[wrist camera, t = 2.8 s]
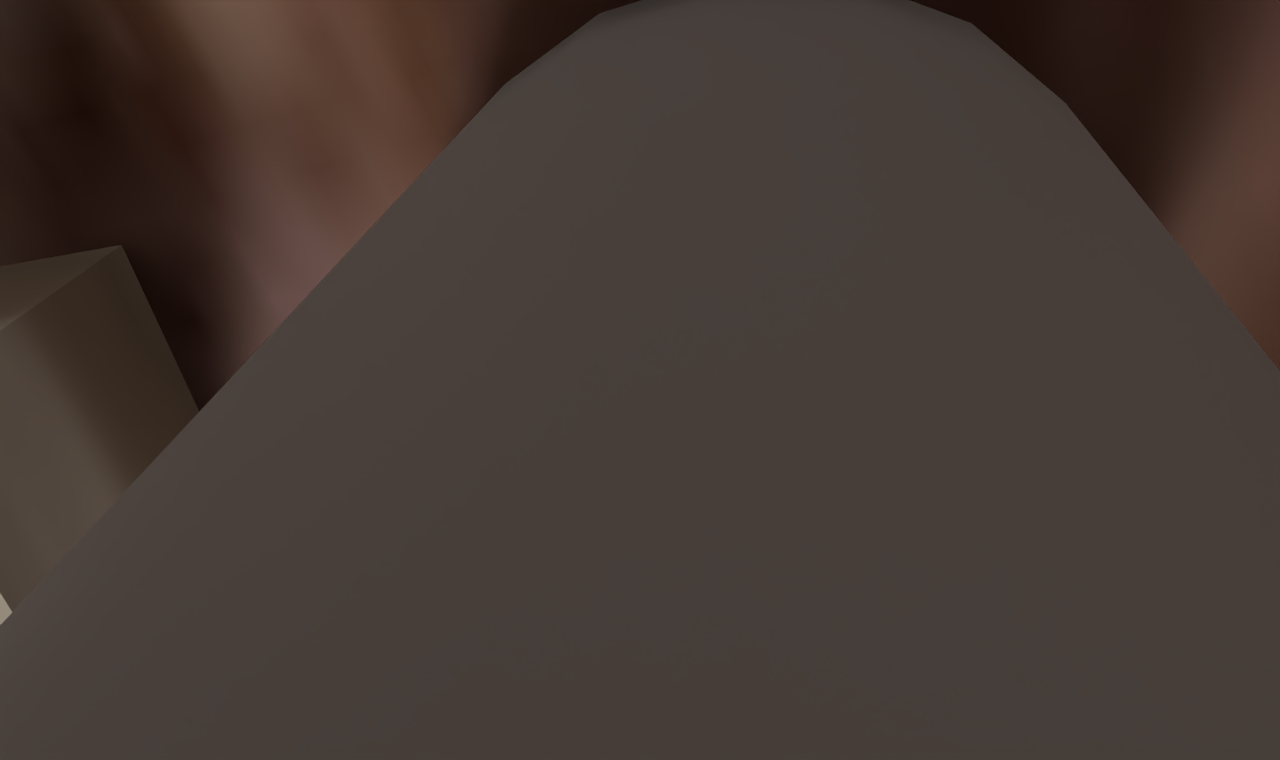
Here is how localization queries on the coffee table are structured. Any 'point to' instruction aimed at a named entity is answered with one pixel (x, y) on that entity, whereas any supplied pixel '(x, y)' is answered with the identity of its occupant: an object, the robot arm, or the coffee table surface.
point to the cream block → (75, 404)
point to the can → (709, 444)
